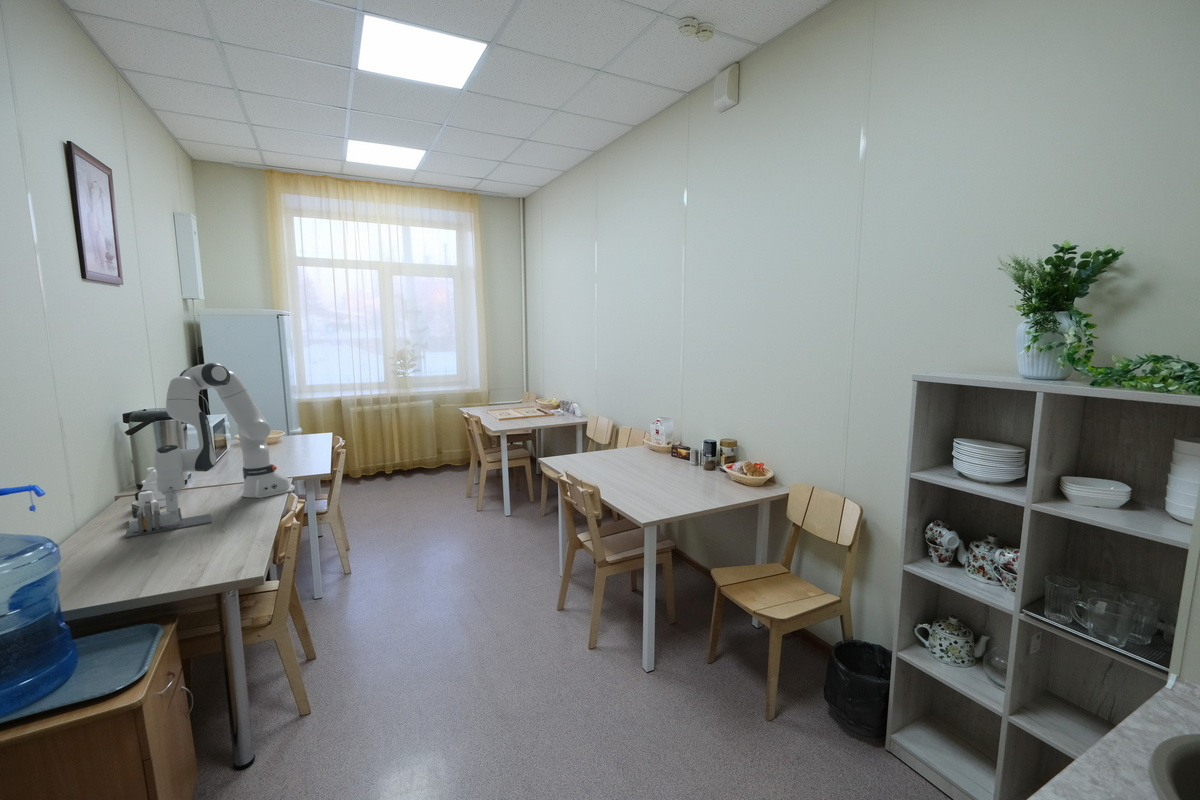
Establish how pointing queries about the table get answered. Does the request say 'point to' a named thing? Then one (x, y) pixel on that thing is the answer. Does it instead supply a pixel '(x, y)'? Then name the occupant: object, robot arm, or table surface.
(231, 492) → the table surface
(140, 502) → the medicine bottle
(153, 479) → the honey pot
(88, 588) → the table surface
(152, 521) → the orange-striped grey block
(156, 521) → the rail
